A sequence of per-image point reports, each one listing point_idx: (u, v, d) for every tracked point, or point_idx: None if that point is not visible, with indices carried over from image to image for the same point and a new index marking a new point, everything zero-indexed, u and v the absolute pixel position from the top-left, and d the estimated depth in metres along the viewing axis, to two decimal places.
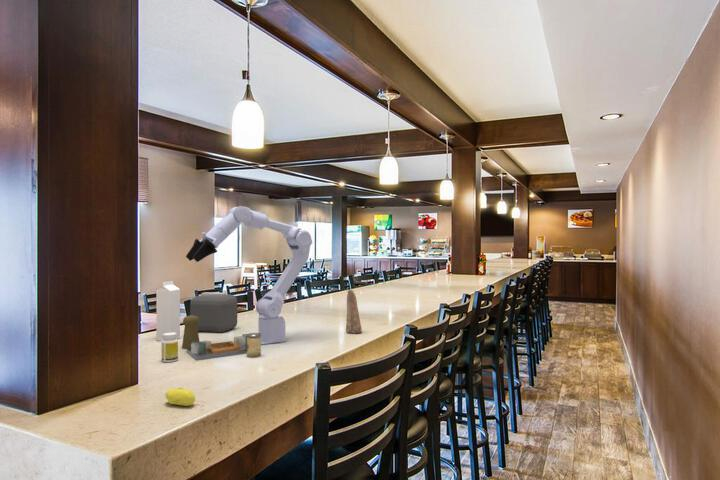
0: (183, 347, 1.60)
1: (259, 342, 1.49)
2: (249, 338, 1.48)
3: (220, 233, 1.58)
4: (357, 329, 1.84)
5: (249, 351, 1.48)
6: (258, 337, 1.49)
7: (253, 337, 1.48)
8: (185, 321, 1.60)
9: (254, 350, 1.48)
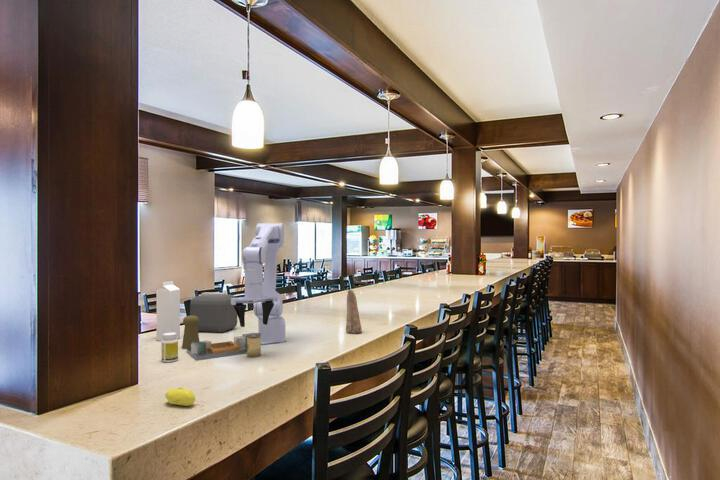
0: (183, 347, 1.60)
1: (259, 342, 1.49)
2: (249, 338, 1.48)
3: None
4: (357, 329, 1.84)
5: (249, 351, 1.48)
6: (258, 337, 1.49)
7: (253, 337, 1.48)
8: (185, 321, 1.60)
9: (254, 350, 1.48)
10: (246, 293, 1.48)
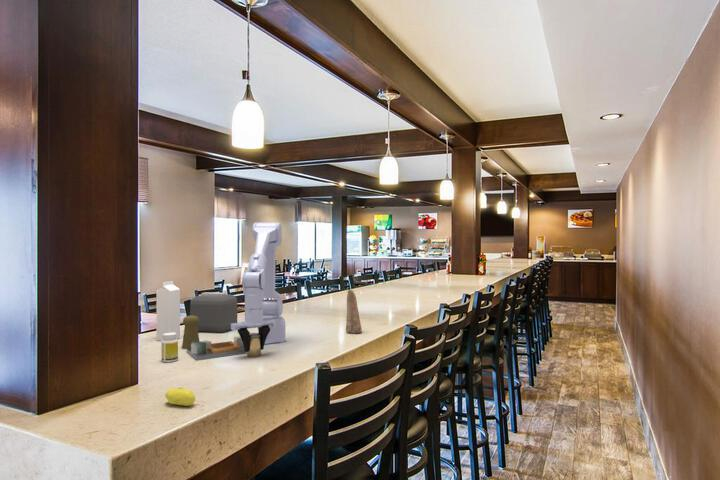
0: (183, 347, 1.60)
1: (259, 342, 1.49)
2: (249, 338, 1.48)
3: None
4: (357, 329, 1.84)
5: (249, 351, 1.48)
6: (258, 337, 1.49)
7: (253, 337, 1.48)
8: (185, 321, 1.60)
9: (254, 350, 1.48)
10: (246, 318, 1.48)
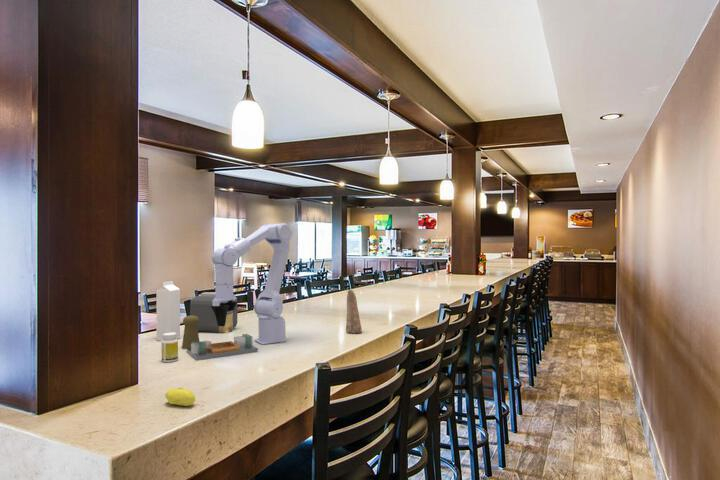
0: (183, 347, 1.60)
1: (232, 317, 1.56)
2: None
3: None
4: (357, 329, 1.84)
5: (226, 327, 1.53)
6: (232, 312, 1.55)
7: (230, 312, 1.54)
8: (185, 321, 1.60)
9: (231, 325, 1.54)
10: (223, 294, 1.52)
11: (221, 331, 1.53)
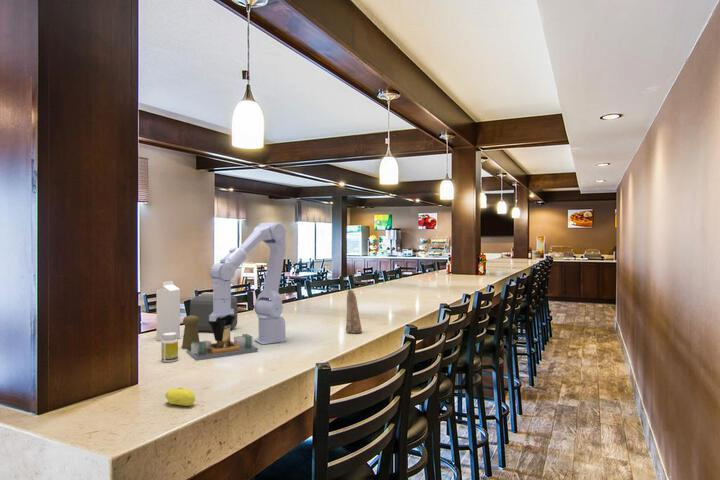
0: (183, 347, 1.60)
1: None
2: None
3: None
4: (357, 329, 1.84)
5: (223, 341, 1.53)
6: None
7: (227, 327, 1.54)
8: (185, 321, 1.60)
9: (228, 339, 1.54)
10: (220, 308, 1.53)
11: (218, 346, 1.53)
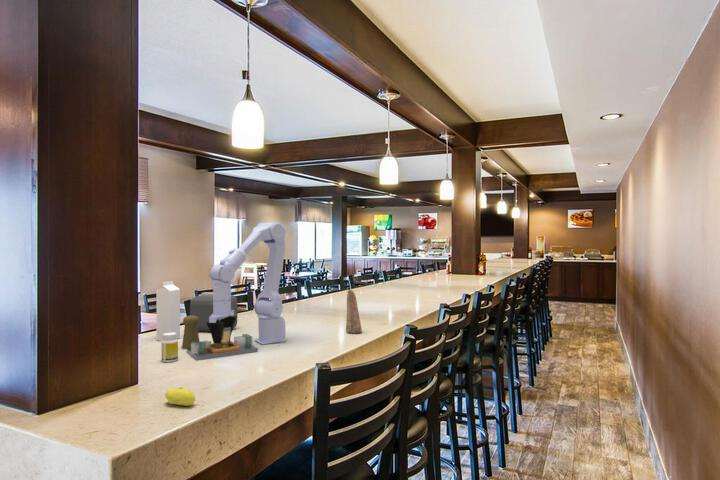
0: (183, 347, 1.60)
1: None
2: (223, 331, 1.53)
3: None
4: (357, 329, 1.84)
5: (223, 344, 1.53)
6: None
7: (227, 329, 1.54)
8: (185, 321, 1.60)
9: (228, 342, 1.54)
10: (220, 310, 1.53)
11: None
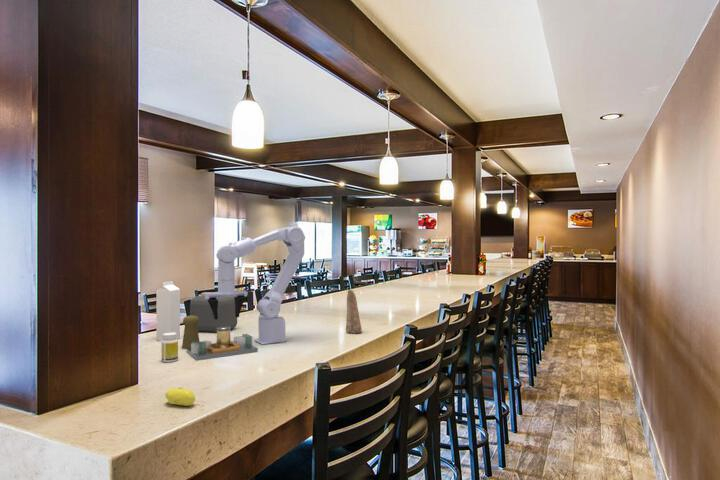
0: (183, 347, 1.60)
1: None
2: (223, 331, 1.53)
3: None
4: (357, 329, 1.84)
5: (223, 344, 1.53)
6: None
7: (227, 329, 1.54)
8: (185, 321, 1.60)
9: (228, 342, 1.54)
10: (219, 288, 1.62)
11: None
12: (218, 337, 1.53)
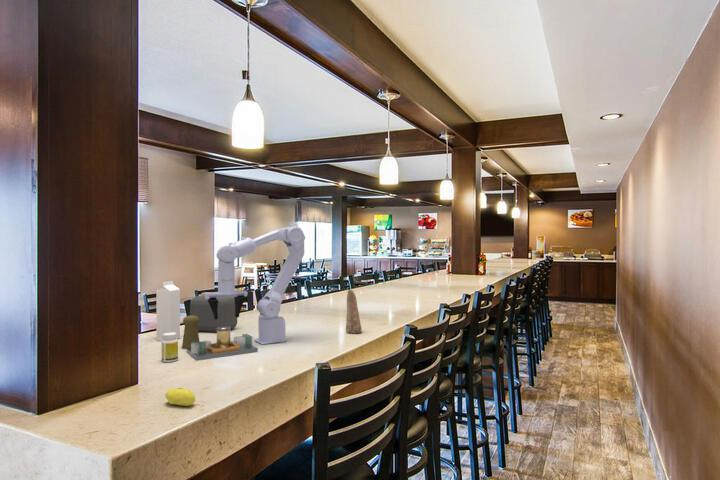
0: (183, 347, 1.60)
1: None
2: (223, 331, 1.53)
3: None
4: (357, 329, 1.84)
5: (223, 344, 1.53)
6: None
7: (227, 329, 1.54)
8: (185, 321, 1.60)
9: (228, 342, 1.54)
10: (219, 288, 1.62)
11: None
12: (218, 337, 1.53)
